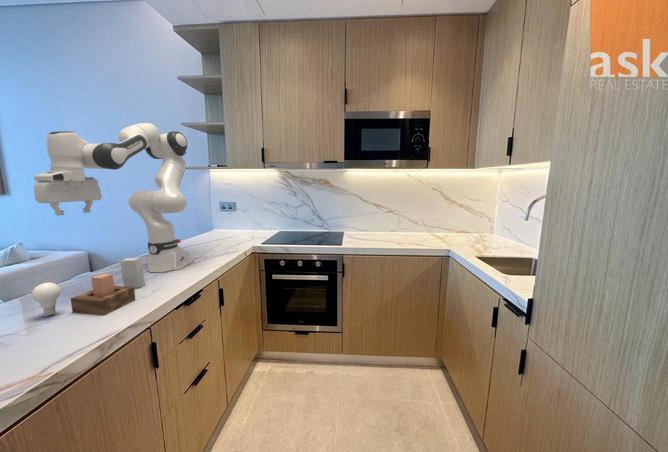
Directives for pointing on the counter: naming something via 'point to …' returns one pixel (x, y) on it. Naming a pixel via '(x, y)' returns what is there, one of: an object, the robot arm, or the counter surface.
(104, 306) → the walnut socket block
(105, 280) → the terracotta peg
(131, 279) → the skincare box
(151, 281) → the counter surface
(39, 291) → the lightbulb
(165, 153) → the robot arm
